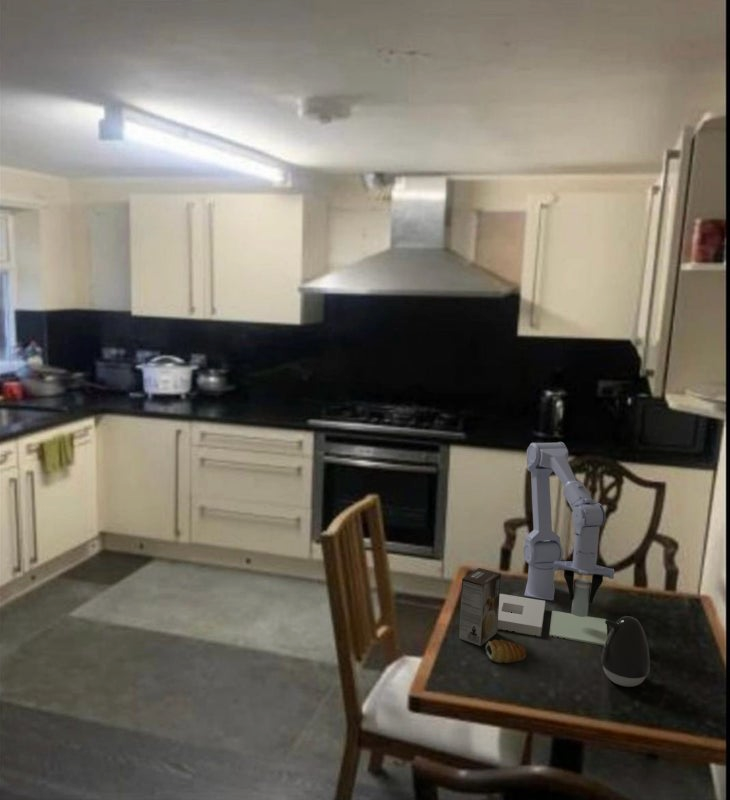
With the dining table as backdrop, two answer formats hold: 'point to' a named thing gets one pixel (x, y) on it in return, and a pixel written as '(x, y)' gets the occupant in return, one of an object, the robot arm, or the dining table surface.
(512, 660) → the pastry
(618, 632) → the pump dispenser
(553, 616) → the mat
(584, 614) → the cartridge
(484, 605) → the coffee box
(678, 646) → the dining table surface
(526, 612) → the housing
